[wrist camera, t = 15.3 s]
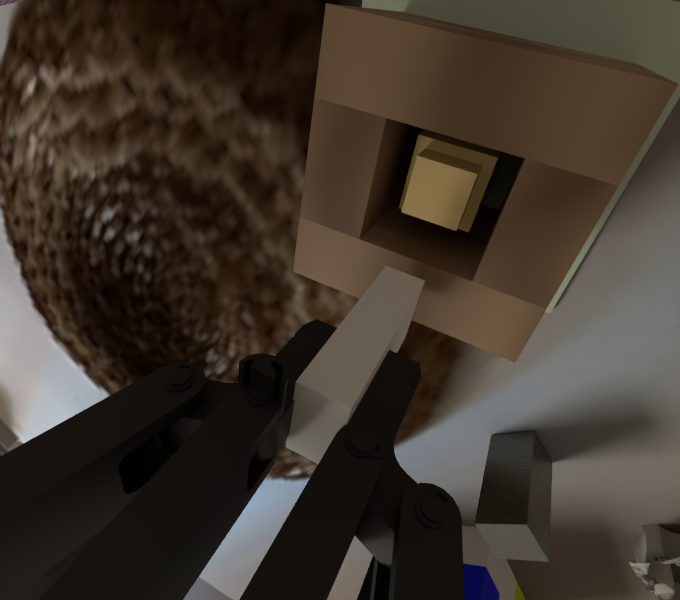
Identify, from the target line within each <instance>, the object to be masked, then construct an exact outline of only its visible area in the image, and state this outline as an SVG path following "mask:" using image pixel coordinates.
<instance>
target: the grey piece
mask: <svg viewBox="0 0 680 600" xmlns="http://www.w3.org/2000/svg"><path fill="white" fill-rule="evenodd" d="M642 529H643V533H644V534H643V535H642V536H641V537H639V538H637V539H635V540H634V548H635V558H636V562H634V561H628V562H629V564H630V565H631V566H632V568H633V570H634V571H635V573H636V575H637V576H638V577H640V578H641V579H642V581H643V582H644V584H645V586H646V588H647V590H648V591H649V592H654V593H655V594H656V596H657V599H658V600H680V583H677V582H674V580H673V575H672V570H671V565H670V564H672V563H675V564H676V565H677V566H680V534H676V533H672V532H670V531H667V530H665V529H663V528H662V527H661V526H660V525H659V524H652V525H644V526H642Z"/></svg>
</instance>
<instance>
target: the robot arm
mask: <svg viewBox="0 0 680 600" xmlns="http://www.w3.org/2000/svg"><path fill="white" fill-rule="evenodd" d="M424 282H425V280H422V279H420V278H417V277H414V276H412V275H409V274H407V273H404V272H401V271H399V270H396V269H394V268H391V267H388V266H385V267H384V269H383V270H382V271H381V272H380V274H379V275H378V276H377V278H376V279H375V280H374V281H373V283H372V284H371V285H370V287H369V288H368V289H367V290H366V292H365V293H364V294H363V296H362V297H361V298H360V300H359V301H358V302H357V303H356V305H355V306H354V307H353V309H352V310H351V311H350V312H349V314H348V315H347V316H346V318H345V319H344V320H343V321H342V323H341V324H340V325H339V327H338V328H336V327H333V326H331V325H329V324H327V323H324V322H322V321H320V320H317V319H316V320H313V321H311V322H309V323H307V324H305V325H303V326H302V327H301V328H300V329H299V330H298V332H297V333H296V334H295V335H294V337H292V338H291V339H290V340H289V342H288V343H287V345H285V346H284V347H283V348H282V349H281V351H280V352H279V353H278V354H277V355H276V356H273V355H269V354H253V355H250V356H247V357H245V358H244V359H242V360H241V361H239V383H225V382H219V381H213V380H208V379H206V378H205V373H204V372H203V370H202V369H201V368H200V367H199V366H197V365H195V364H193V363H188V362H176V363H171V364H169V365H166V366H163V367H162V368H160V369H158V370H156V371H154V372H152V373H151V374H149V375H147V376H145V377H143V378H142V379H140V380H138V381H136V382H134V383H133V384H131V385H129V386H127V387H125V388H124V389H122V390H120V391H118V392H116V393H114V394H113V395H111V396H109V397H107V398H105V399H104V400H102V401H100V402H98V403H96V404H95V405H93V406H91V407H89V408H87V409H86V410H84V411H82V412H80V413H78V414H77V415H75V416H73V417H71V418H69V419H67V420H66V421H64V422H62V423H60V424H58V425H57V426H55V427H53V428H51V429H49V430H48V431H46V432H44V433H42V434H40V435H39V436H37V437H35V438H33V439H31V440H29V441H28V442H26V443H24V444H22V445H20V446H19V447H17V448H15V449H13V450H11V451H9V450H8V449H7V448H6V447H5V446H4V445H3V444H2V443H1V442H0V600H183V599H184V597H185V596H186V594H187V593H188V592H189V590H190V588H191V587H192V586H193V584H194V583H195V581H196V579H197V578H198V577H199V575H200V574H201V572H202V571H203V569H204V568H205V566H206V565H207V563H208V562H209V560H210V559H211V557H212V556H213V554H214V553H215V551H216V550H217V548H218V547H219V546H220V544H221V543H222V541H223V540H224V538H225V537H226V535H227V534H228V532H229V531H230V529H231V528H232V526H233V525H234V523H235V522H236V520H237V519H238V517H239V516H240V514H241V513H242V511H243V510H244V508H245V507H246V505H247V504H248V502H249V501H250V500H251V498H252V497H253V495H254V494H255V492H256V491H257V489H258V488H259V486H260V485H261V483H262V482H263V480H264V479H265V477H266V476H267V474H268V473H269V471H270V470H271V468H272V467H273V465H274V464H275V461H276V459H277V457H278V450H279V448H280V447H281V445H282V444H283V442H284V441H285V439H286V438H287V442H286V447H287V448H288V449H290V450H292V451H294V452H296V453H298V454H300V455H302V456H304V457H305V458H307V459H309V460H311V461H313V462H315V463H317V464H318V466H317V467H316V469H315V471H314V472H313V474H312V476H311V478H310V479H309V481H308V483H307V485H306V486H305V488H304V490H303V491H302V493H301V495H300V497H299V498H298V500H297V502H296V503H295V505H294V507H293V509H292V510H291V512H290V514H289V516H288V517H287V519H286V521H285V522H284V524H283V526H282V528H281V529H280V531H279V533H278V534H277V536H276V538H275V540H274V541H273V543H272V545H271V547H270V548H269V550H268V552H267V553H266V555H265V557H264V559H263V560H262V562H261V564H260V565H259V567H258V569H257V571H256V572H255V574H254V576H253V577H252V579H251V581H250V583H249V584H248V586H247V588H246V590H245V591H244V593H243V595H242V596H241V598H240V600H327V598H328V596H329V593H330V591H331V589H332V586H333V584H334V582H335V579H336V577H337V575H338V572H339V570H340V568H341V565H342V563H343V561H344V558H345V556H346V554H347V551H348V549H349V547H350V544H351V542H352V540H353V537H354V535H355V536H356V537H357V538H358V539H359V540H360V541H361V543H362V544H363V545H364V546H365V547H366V548H367V549H368V550H369V551H370V553H371V554H372V555H373V556H374V557H375V562H374V571H373V579H372V587H371V596H370V600H465V598H464V570H463V543H462V520H461V515H460V511H459V508H458V506H457V504H456V503H455V501H454V499H453V498H452V497H451V496H450V495H449V494H448V493H447V492H446V491H445V490H444V489H442V488H440V487H438V486H436V485H434V484H429V483H419V484H417V483H416V482H415V481H414V480H413V479H412V478H411V477H410V476H409V475H408V474H407V473H406V472H405V471H404V470H403V469H402V468H401V467H400V465H399V463H398V461H397V460H396V457H395V453H394V441H395V438H396V436H397V434H398V431H399V429H400V427H401V424H402V422H403V420H404V417H405V415H406V413H407V410H408V408H409V405H410V403H411V401H412V398H413V396H414V393H415V391H416V388H417V386H418V384H419V381H420V379H421V370H420V363H418V362H416V361H414V360H412V359H409V358H407V357H405V356H402V355H400V354H398V353H397V352H398V350H399V348H400V346H401V344H402V342H403V340H404V338H405V336H406V333H407V330H408V328H409V325H410V322H411V319H412V316H413V313H414V311H415V308H416V305H417V302H418V299H419V296H420V293H421V291H422V288H423V285H424Z"/></svg>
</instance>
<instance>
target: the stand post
mask: <svg viewBox="0 0 680 600" xmlns="http://www.w3.org/2000/svg"><path fill="white" fill-rule="evenodd" d="M551 485H552V462H551V460H550V458H549V456H548V454H547V452H546V451H545V449H544V447H543V445H542V443H541V441H540V439H539V438H538V436H537V434H536V432H535V430H533V431H524V432H515V433H506V434H497V435H491V439H490V445H489V450H488V455H487V461H486V466H485V471H484V477H483V482H482V487H481V493H480V498H479V503H478V509H477V514H476V519H475V525H476V527H477V528H478V530H479V531H480V533H481V535H482V536H483V538H484V539H485V541H486V542H487V544H488V546H489V547H490V549H491V550H492V552H493V554H494V555H495V557H496V558H499V559H514V560H528V561H543V562H549V543H550V514H551Z"/></svg>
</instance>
